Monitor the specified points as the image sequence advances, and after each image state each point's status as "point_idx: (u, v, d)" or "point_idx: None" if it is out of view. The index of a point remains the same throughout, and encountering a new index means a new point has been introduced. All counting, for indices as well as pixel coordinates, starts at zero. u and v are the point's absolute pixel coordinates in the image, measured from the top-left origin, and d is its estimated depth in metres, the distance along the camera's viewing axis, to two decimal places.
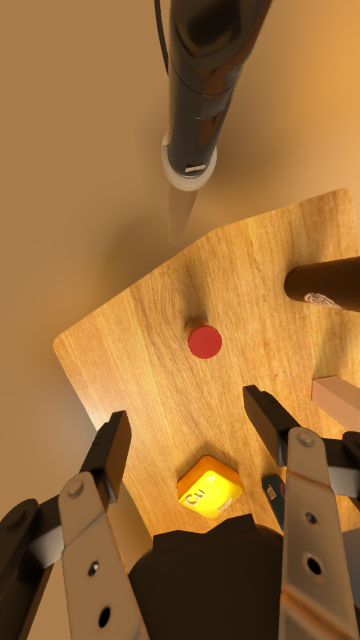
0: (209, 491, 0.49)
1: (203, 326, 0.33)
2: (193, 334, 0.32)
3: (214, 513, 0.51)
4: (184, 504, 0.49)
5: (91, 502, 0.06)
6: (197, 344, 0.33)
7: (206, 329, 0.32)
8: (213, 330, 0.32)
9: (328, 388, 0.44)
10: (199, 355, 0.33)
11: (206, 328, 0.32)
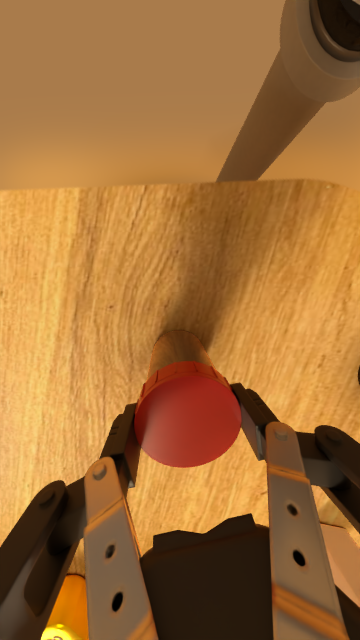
0: None
1: (209, 374, 0.10)
2: (168, 384, 0.09)
3: None
4: None
5: (116, 483, 0.07)
6: (164, 418, 0.10)
7: (214, 388, 0.10)
8: (231, 401, 0.10)
9: (339, 563, 0.24)
10: (152, 449, 0.10)
11: (216, 386, 0.10)
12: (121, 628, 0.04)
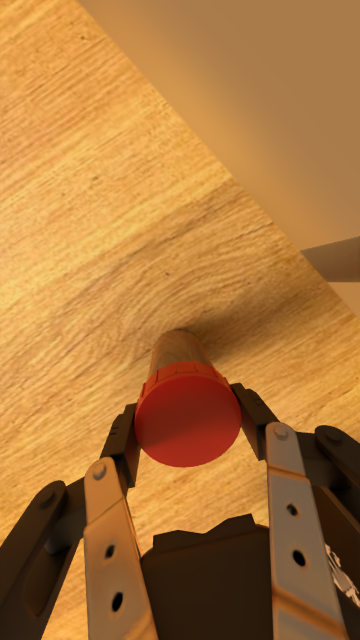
0: None
1: (209, 374, 0.10)
2: (168, 384, 0.09)
3: None
4: None
5: (116, 483, 0.07)
6: (164, 418, 0.10)
7: (214, 389, 0.10)
8: (231, 401, 0.10)
9: None
10: (152, 449, 0.10)
11: (216, 386, 0.10)
12: (121, 628, 0.04)
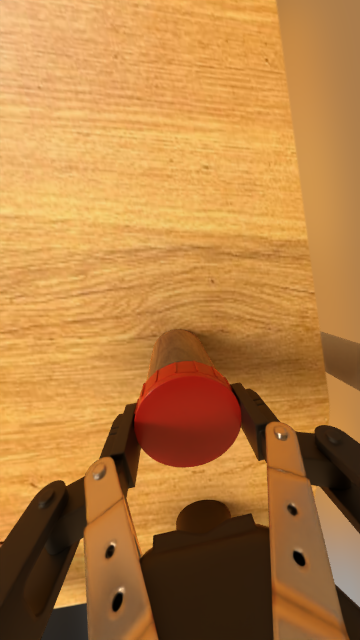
0: None
1: (209, 374, 0.10)
2: (168, 384, 0.09)
3: None
4: None
5: (115, 483, 0.07)
6: (164, 418, 0.10)
7: (214, 389, 0.10)
8: (231, 401, 0.10)
9: None
10: (152, 449, 0.10)
11: (216, 386, 0.10)
12: (121, 628, 0.04)
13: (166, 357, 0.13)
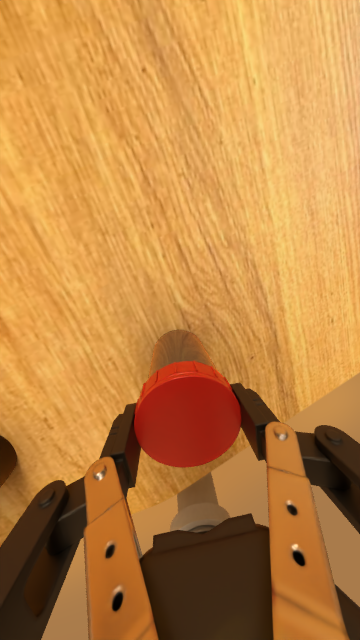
0: None
1: (209, 374, 0.10)
2: (168, 384, 0.09)
3: None
4: None
5: (116, 483, 0.07)
6: (164, 418, 0.10)
7: (214, 389, 0.10)
8: (231, 401, 0.10)
9: None
10: (152, 449, 0.10)
11: (216, 386, 0.10)
12: (121, 628, 0.04)
13: (211, 362, 0.13)
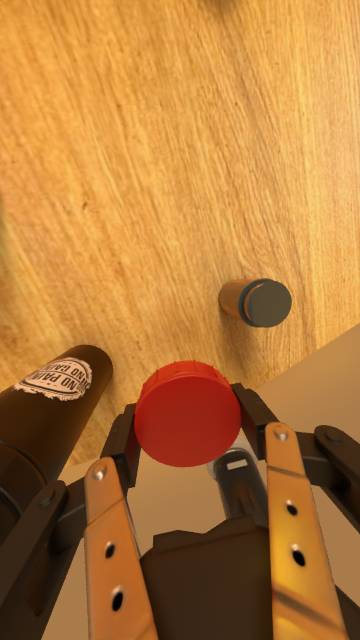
0: None
1: (209, 373, 0.10)
2: (168, 384, 0.09)
3: None
4: None
5: (116, 483, 0.07)
6: (164, 417, 0.10)
7: (214, 388, 0.10)
8: (231, 400, 0.10)
9: None
10: (152, 449, 0.10)
11: (216, 385, 0.10)
12: (121, 628, 0.04)
13: None
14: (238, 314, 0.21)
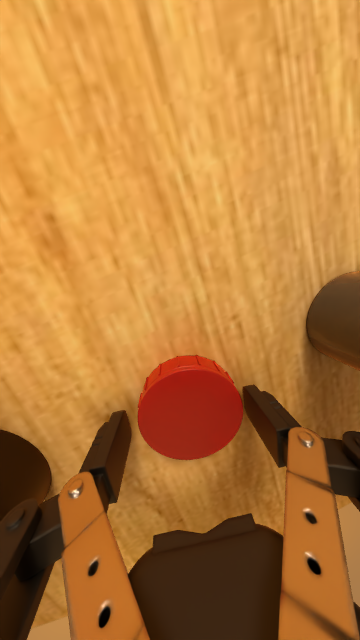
0: None
1: (211, 367, 0.10)
2: (171, 377, 0.10)
3: None
4: None
5: (91, 502, 0.06)
6: (167, 410, 0.10)
7: (216, 382, 0.10)
8: (233, 394, 0.10)
9: None
10: (155, 441, 0.11)
11: (218, 379, 0.10)
12: None
13: None
14: None
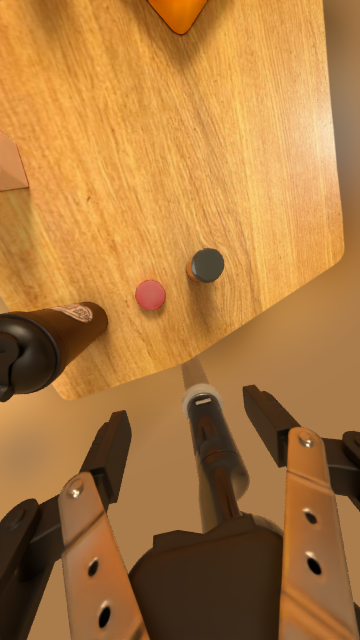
0: None
1: (155, 281, 0.37)
2: (144, 282, 0.37)
3: None
4: None
5: (91, 502, 0.06)
6: (143, 292, 0.37)
7: (156, 284, 0.37)
8: (161, 288, 0.37)
9: (6, 174, 0.29)
10: (140, 302, 0.38)
11: (157, 283, 0.37)
12: None
13: None
14: (192, 273, 0.32)
